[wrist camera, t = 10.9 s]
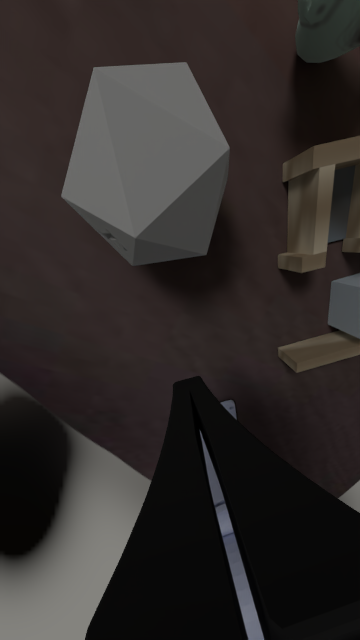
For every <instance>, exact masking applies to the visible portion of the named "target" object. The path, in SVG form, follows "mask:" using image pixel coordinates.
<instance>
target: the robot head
mask: <svg viewBox="0 0 360 640" xmlns="http://www.w3.org/2000/svg"><path fill="white" fill-rule="evenodd" d="M298 14H299V22H298V26H297V31H296V35H295V39H296V49H297V55H298V56H300V57H301V58H302V59H303V60H304V61H305V62H306V63H321V62H325V61H328V60H331V59H335V58H337V57H339V56H341V55H343V54H345V53H347V52H349V51H351V50H353V49H355V48H357V47H359V46H360V0H298Z"/></svg>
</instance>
